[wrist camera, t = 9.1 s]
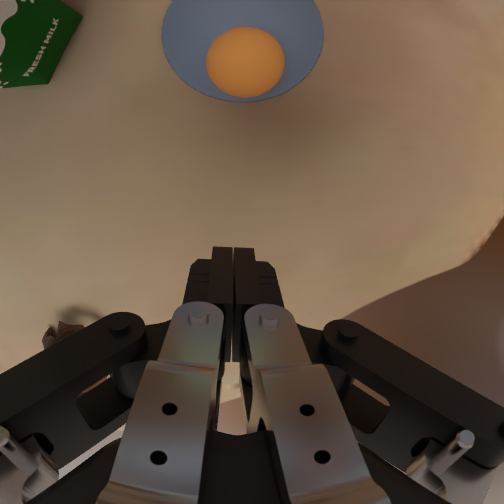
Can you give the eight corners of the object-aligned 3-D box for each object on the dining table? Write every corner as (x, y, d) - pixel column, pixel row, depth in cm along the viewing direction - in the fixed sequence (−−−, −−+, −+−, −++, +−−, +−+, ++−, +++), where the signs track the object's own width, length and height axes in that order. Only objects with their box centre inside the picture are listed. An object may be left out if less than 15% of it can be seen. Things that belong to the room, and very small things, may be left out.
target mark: (156, 100, 21) (155, 100, 21) (172, -33, 16) (171, -34, 15) (316, 110, 23) (316, 110, 22) (325, -22, 17) (326, -23, 17)
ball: (210, 16, 17) (216, 70, 22) (193, 50, 15) (204, 112, 20) (286, 17, 16) (283, 72, 22) (286, 51, 15) (281, 115, 20)
